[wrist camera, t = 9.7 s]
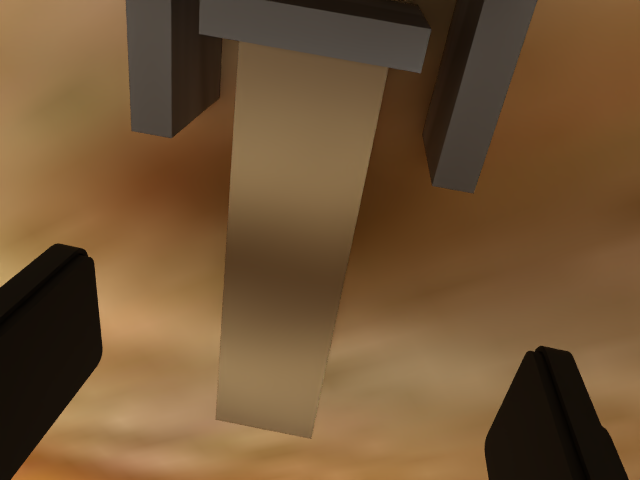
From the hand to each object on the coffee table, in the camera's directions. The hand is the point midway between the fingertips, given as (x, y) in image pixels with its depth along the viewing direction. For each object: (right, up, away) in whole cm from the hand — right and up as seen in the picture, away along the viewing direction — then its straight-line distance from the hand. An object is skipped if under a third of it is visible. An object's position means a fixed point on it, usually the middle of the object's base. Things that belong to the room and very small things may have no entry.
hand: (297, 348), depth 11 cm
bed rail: (0, +3, +6) cm, 7 cm away
